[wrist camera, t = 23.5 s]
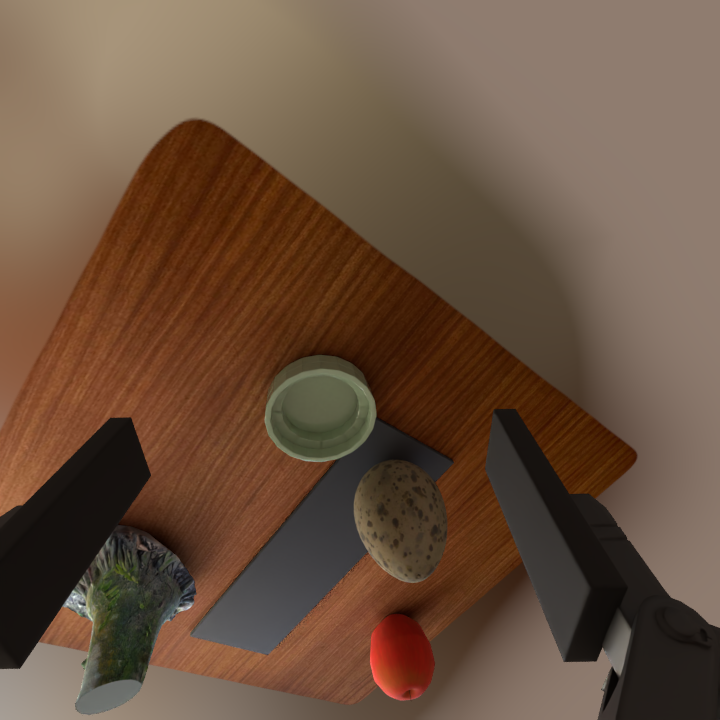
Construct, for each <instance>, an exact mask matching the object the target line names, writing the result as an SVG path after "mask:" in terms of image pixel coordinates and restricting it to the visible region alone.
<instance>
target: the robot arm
mask: <svg viewBox="0 0 720 720" xmlns="http://www.w3.org/2000/svg"><path fill="white" fill-rule="evenodd" d="M485 470H486V472H487V475H488V477H489V480H490V482H491V485H492V487H493V489H494V492H495V494H496V497H497V499H498V502H499V504H500V507H501V509H502V511H503V514H504V516H505V519H506V521H507V524H508V526H509V529H510V531H511V533H512V536H513V538H514V541H515V543H516V546H517V548H518V551H519V553H520V555H521V558H522V560H523V563H524V565H525V568H526V570H527V573H528V575H529V578H530V580H531V582H532V585H533V587H534V590H535V592H536V595H537V597H538V599H539V602H540V604H541V607H542V609H543V612H544V614H545V617H546V619H547V621H548V624H549V626H550V629H551V631H552V634H553V636H554V639H555V641H556V644H557V646H558V648H559V651H560V653H561V656H562V658H563V661H564V662H586V661H587V662H588V661H597V659H598V657H599V654H600V652H601V650H602V647H603V648H604V651H605V653H606V655H607V657H608V659H609V661H610V663H611V665H612V668H611V670H610V672H609V674H608V676H607V678H606V681H605V682H604V685H603V687H602V689H601V690H603V691H604V696H603V700H602V704H601V708H600V712H599V716H598V720H720V628H718V627H715V626H713V625H710V624H708V623H707V622H706V621H705V620H704V619H703V618H702V617H701V616H700V615H699V614H698V613H697V612H696V611H694V610H693V609H692V608H690V607H688V606H687V605H685V604H683V603H682V602H681V601H678V600H675V599H673V598H671V597H670V596H669V595H668V594H667V592H666V591H665V590H664V588H663V587H662V586H661V584H660V583H659V581H658V580H657V579H656V577H655V576H654V574H653V573H652V572H651V570H650V569H649V567H648V566H647V565H646V563H645V562H644V560H643V559H642V558H641V556H640V555H639V553H638V552H637V551H636V549H635V548H634V546H633V545H632V544H631V542H630V541H628V540H627V537H626V535H625V534H624V532H623V531H622V530H621V528H620V527H618V526H617V523H616V521H615V520H614V518H613V517H612V516H611V514H610V513H609V512H608V510H607V509H606V508H605V507H604V506H603V505H602V504H601V503H599V502H598V501H597V500H596V499H594V498H593V497H592V496H591V495H589V494H569V493H568V491H567V490H566V488H565V487H564V485H563V484H562V482H561V480H560V479H559V477H558V476H557V474H556V472H555V471H554V469H553V468H552V466H551V465H550V463H549V461H548V460H547V458H546V457H545V455H544V454H543V452H542V450H541V449H540V447H539V446H538V444H537V442H536V441H535V439H534V438H533V436H532V435H531V433H530V431H529V430H528V428H527V427H526V425H525V424H524V422H523V420H522V419H521V417H520V416H519V414H518V412H517V411H516V409H494V411H493V418H492V425H491V432H490V439H489V445H488V452H487V459H486V466H485ZM150 476H151V474H150V471H149V468H148V465H147V462H146V459H145V456H144V454H143V451H142V448H141V445H140V442H139V439H138V436H137V433H136V430H135V428H134V425H133V422H132V419H131V418H110V419H109V420H108V421H107V422H106V423H105V424H104V425H103V426H102V427H101V428H100V429H99V430H98V431H97V432H96V433H95V434H94V435H93V436H92V437H91V438H90V439H89V440H88V441H87V442H86V443H85V444H84V445H83V446H82V447H81V448H80V449H79V450H78V451H77V452H76V453H75V454H74V455H73V456H72V457H71V458H70V459H69V460H68V461H67V462H66V463H65V464H64V465H63V466H62V467H61V468H60V469H59V470H58V471H57V472H56V473H55V474H54V475H53V476H52V477H51V478H50V479H49V480H48V481H47V482H46V483H45V484H44V485H43V486H42V487H41V488H40V489H39V490H38V491H37V492H36V493H35V494H34V495H33V496H32V497H31V498H30V499H29V500H28V501H27V502H26V503H25V504H24V505H23V506H16V507H14V508H13V509H11V510H10V511H8V512H7V513H5V514H4V515H2V516H1V517H0V669H18V668H19V669H20V668H21V666H22V665H23V663H24V662H25V660H26V659H27V657H28V656H29V655H30V653H31V652H32V650H33V649H34V647H35V646H36V644H37V643H38V641H39V640H40V638H41V637H42V635H43V634H44V633H45V631H46V630H47V628H48V627H49V625H50V624H51V622H52V621H53V619H54V618H55V616H56V615H57V613H58V612H59V610H60V609H61V607H62V606H63V605H64V603H65V602H66V600H67V599H68V597H69V596H70V594H71V593H72V591H73V590H74V588H75V587H76V585H77V584H78V582H79V581H80V580H81V578H82V577H83V575H84V574H85V572H86V571H87V569H88V568H89V566H90V565H91V563H92V562H93V560H94V559H95V557H96V556H97V554H98V553H99V552H100V550H101V549H102V547H103V546H104V544H105V543H106V541H107V540H108V538H109V537H110V535H111V534H112V532H113V531H114V529H115V528H116V526H117V525H118V524H119V522H120V521H121V519H122V518H123V516H124V515H125V513H126V512H127V510H128V509H129V507H130V506H131V504H132V503H133V501H134V500H135V499H136V497H137V496H138V494H139V493H140V491H141V490H142V488H143V487H144V485H145V484H146V482H147V481H148V479H149V478H150Z"/></svg>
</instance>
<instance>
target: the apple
mask: <svg viewBox="0 0 720 720" xmlns="http://www.w3.org/2000/svg"><path fill="white" fill-rule="evenodd" d="M370 664H371V668H372V672H373V676H374V680H375V682H376V683H377V684H378V686H379V687H380V688H381V689H382V690H383V691H384V692H385V693H386V694H387V695H388V696H391V697H392V698H395V699H397V700H410V699H414V698H417V697H419V696H420V695H422V694H423V693H424V691H425V690H426V689H427V687H428V685H429V684H430V683H431V680H432V676H433V671H434V666H435V662H434V657H433V653H432V649H431V645H430V643H429V641H428V639H427V637H426V636H425V634H424V632H423V630H422V628H421V626H420V625H419V624H418V623H417V622H416V621H414V620H413V619H411V618H409V617H407V616H405V615H403V614H391V615H389V616H387V617H386V618H384V619H383V620H382V622H381V623H380V624H379V625H378V626H377V627H376V628H375V630H374V631H373V633H372V635H371V652H370Z"/></svg>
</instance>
